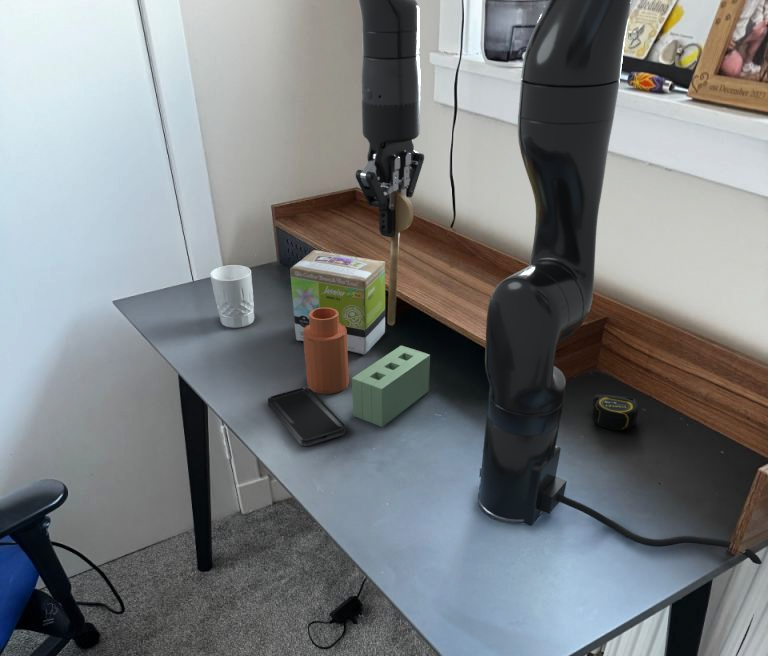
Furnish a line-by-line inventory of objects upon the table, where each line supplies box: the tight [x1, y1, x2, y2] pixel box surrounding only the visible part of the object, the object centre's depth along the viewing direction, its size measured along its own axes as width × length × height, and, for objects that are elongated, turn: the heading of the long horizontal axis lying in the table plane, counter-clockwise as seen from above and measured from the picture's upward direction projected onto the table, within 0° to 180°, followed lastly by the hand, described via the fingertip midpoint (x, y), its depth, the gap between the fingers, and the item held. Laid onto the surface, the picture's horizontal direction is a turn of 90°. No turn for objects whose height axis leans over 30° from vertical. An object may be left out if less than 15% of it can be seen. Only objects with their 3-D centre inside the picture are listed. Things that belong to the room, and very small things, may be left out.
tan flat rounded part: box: [384, 192, 414, 326], centre depth 106 cm, size 5×1×20 cm, turn 54°
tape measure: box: [592, 393, 639, 431], centre depth 115 cm, size 7×7×4 cm
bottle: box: [303, 307, 350, 395], centre depth 122 cm, size 7×7×13 cm
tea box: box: [289, 249, 386, 356], centre depth 135 cm, size 15×10×15 cm
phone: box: [267, 386, 346, 447], centre depth 117 cm, size 8×1×15 cm
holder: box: [351, 345, 431, 428], centre depth 119 cm, size 6×14×7 cm, turn 144°
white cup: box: [209, 264, 255, 329], centre depth 143 cm, size 8×8×10 cm
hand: (391, 233), depth 103 cm, fingers closed on tan flat rounded part, 1 cm apart
